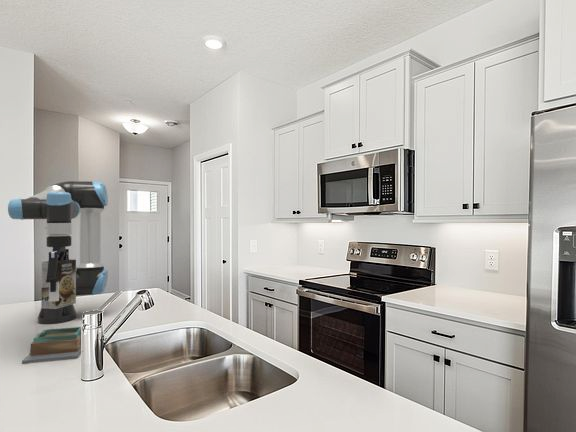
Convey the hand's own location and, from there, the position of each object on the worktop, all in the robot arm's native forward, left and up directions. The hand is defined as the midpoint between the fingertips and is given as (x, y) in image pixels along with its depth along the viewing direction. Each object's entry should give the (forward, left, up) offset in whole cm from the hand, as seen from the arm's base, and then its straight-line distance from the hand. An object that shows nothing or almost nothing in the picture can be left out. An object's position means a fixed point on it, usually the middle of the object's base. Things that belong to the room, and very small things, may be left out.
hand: (59, 297), depth 130 cm
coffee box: (0, 0, -3) cm, 3 cm away
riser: (0, 0, -19) cm, 19 cm away
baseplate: (0, 0, -19) cm, 19 cm away
